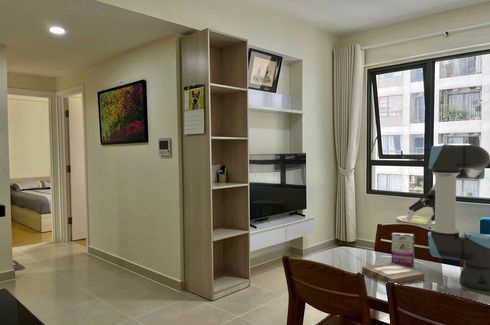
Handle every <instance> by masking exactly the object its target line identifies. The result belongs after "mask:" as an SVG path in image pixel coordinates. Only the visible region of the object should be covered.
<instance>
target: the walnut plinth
mask: <svg viewBox="0 0 490 325" xmlns="http://www.w3.org/2000/svg"><path fill="white" fill-rule="evenodd" d="M361 273H362V274H364V275H366V276H369V277H371V278H373V279H375V280H378V281H380V282H383V283H385V284H387V283H386V282H388V281H391V282H394V283H397V284H399V285H403V284H408V283H414V282H415V283H416V282H419V281H424V280H425V273H423V272H421V271H418V270H415V269H412V268H410V267H407V266H405V265H401V264H396V263H393V262H392V261H390V262H385V263H384V262H383V263H379V264H378V263H377V264H372V265H371V264H370V265H365V266H362V267H361Z"/></svg>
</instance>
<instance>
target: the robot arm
mask: <svg viewBox="0 0 490 325" xmlns="http://www.w3.org/2000/svg"><path fill="white" fill-rule="evenodd" d="M428 162H429V164H428V169H430V170H431V173H432V174H433V175H434V176H435V179H434V181H435V183H434V184H433V186H432V187H431V189H430V190H429V191H428V193H427V194H426V198H423V197H420V198H419V199H418V200H417V201H416V202H414V203H413V204H412V205H410V206H409V207H408V209H409V212H408V214H407V216H406V217H405V219H406V221H407V222H410V221H411V219H413V217H414V215H416V212H417V211H419V210H421V209H424V208H431V209H432V211H433V212H432V213H431V215H430V216H429V217H428V219H427V221H426V222H425V223H426V225H427V226H428V227H430V226H431V225H432V223H434V226H432V227H431V230H430V231H428V232H427V239H428V248H429V253H430V255H431V256H432V257H434V258H438V259H439V258H440V259H448V260H449V259H450V260H456V261H463V267H462V270H461V272H460V274H459V278H458V279H459V283H460V284H461V285H463V286H465V287H467V288H470V289H473V290H478V291H488V292H489V291H490V235H486V234H483V233H478V232H473V231H465V232H464V233H463V234H460V230H459V229H458V228H457V226H456V218H457V217H456V213H457V212H456V211H457V210H456V209H457V208H456V207H457V206H456V205H457V204H456V203H457V196H456V195H457V180H461V179H462V180H483V179H485V173H486V171H485V170H486V168H487V167H488V166H489V164H490V153H489V152H488V151H487V150H486V149H485V148H483V147H481V146H480V145H477V144H472V143H438V144H436V143H435V144H434V145H432V146H431V151H430V156H429V161H428Z"/></svg>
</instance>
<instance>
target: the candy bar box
mask: <svg viewBox="0 0 490 325" xmlns="http://www.w3.org/2000/svg"><path fill="white" fill-rule="evenodd" d="M391 262H393V263H396V264H399V265H402V266H410V267H414V265H415V234H414V233H404V232H392V233H391Z"/></svg>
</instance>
